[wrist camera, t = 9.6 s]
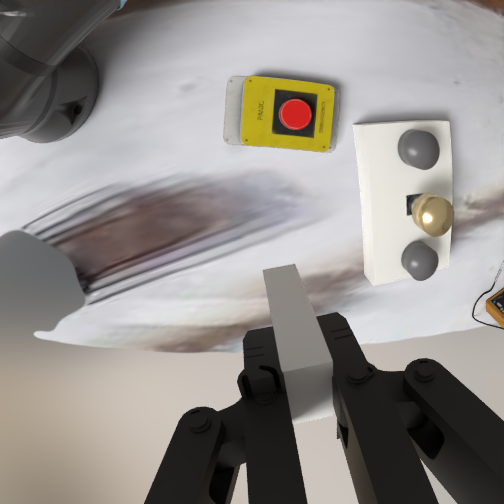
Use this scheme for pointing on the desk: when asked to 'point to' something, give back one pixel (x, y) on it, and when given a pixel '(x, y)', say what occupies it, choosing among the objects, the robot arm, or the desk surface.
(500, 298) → the multimeter
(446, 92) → the desk surface
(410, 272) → the knob far
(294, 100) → the emergency button
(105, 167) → the desk surface
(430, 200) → the knob middle
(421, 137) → the knob near
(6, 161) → the desk surface
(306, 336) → the robot arm
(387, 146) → the mount plate
